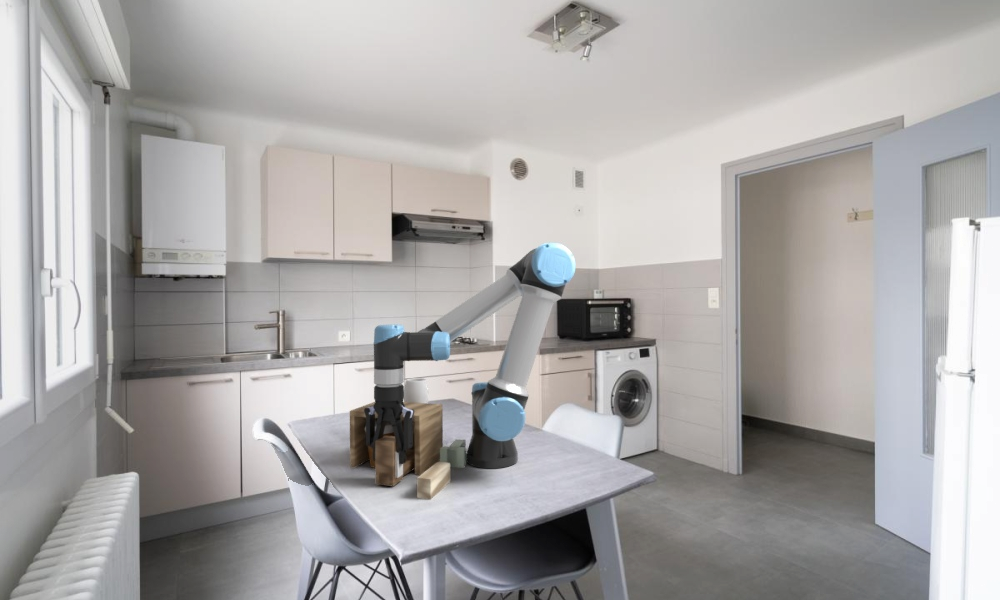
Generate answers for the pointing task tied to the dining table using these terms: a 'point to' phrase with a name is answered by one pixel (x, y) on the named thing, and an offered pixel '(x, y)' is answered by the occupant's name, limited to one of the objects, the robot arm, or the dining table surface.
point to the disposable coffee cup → (387, 432)
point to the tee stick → (454, 453)
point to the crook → (390, 461)
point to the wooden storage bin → (424, 432)
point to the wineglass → (416, 390)
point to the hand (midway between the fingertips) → (389, 474)
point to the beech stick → (433, 480)
